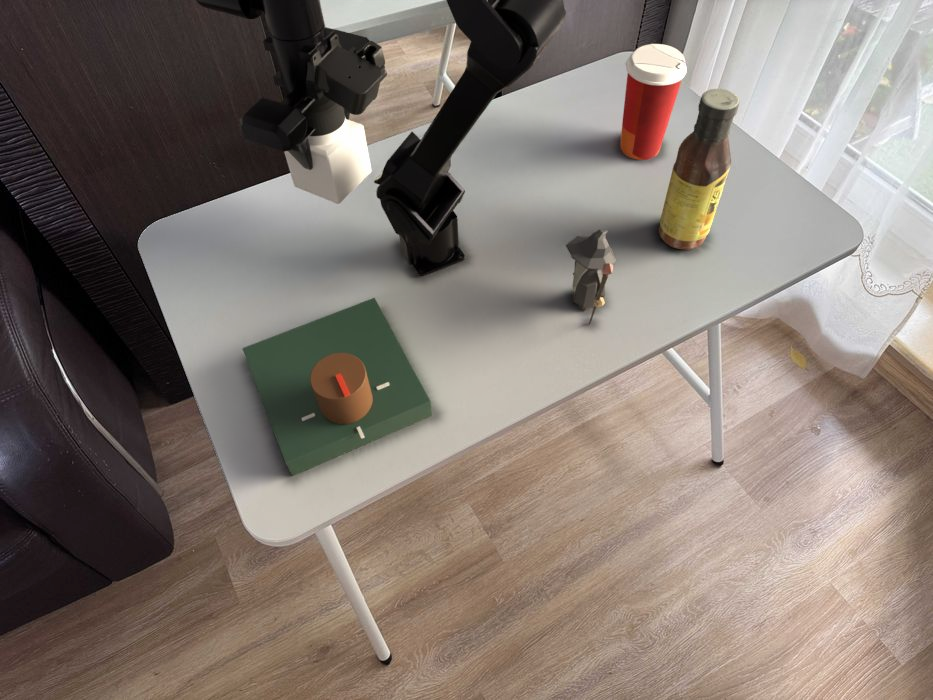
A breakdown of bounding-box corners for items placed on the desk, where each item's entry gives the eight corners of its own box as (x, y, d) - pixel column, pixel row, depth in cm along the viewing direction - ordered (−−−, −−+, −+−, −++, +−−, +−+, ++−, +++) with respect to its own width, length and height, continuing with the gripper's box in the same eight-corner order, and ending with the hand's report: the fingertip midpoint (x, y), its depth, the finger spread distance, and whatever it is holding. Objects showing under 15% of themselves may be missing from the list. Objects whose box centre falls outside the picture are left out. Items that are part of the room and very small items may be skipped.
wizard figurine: (551, 293, 87) (559, 222, 77) (589, 275, 89) (601, 203, 79) (591, 340, 83) (605, 270, 73) (630, 320, 84) (648, 249, 75)
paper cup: (675, 141, 103) (698, 51, 92) (653, 171, 99) (674, 82, 88) (625, 123, 106) (641, 35, 94) (602, 153, 102) (616, 64, 91)
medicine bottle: (373, 172, 90) (357, 87, 81) (339, 206, 87) (318, 121, 77) (328, 155, 93) (308, 70, 83) (293, 187, 89) (268, 103, 79)
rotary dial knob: (312, 391, 76) (301, 363, 72) (361, 371, 78) (353, 343, 73) (330, 432, 73) (320, 406, 69) (380, 411, 75) (373, 384, 70)
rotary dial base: (377, 313, 86) (374, 296, 84) (436, 421, 77) (434, 406, 75) (249, 363, 82) (241, 347, 80) (294, 483, 73) (287, 469, 71)
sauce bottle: (706, 255, 90) (752, 122, 74) (655, 249, 91) (690, 116, 75) (706, 219, 94) (751, 85, 78) (658, 213, 95) (692, 80, 78)
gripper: (311, 95, 66) (341, 218, 79) (409, -2, 76) (421, 122, 88) (216, 67, 69) (259, 190, 82) (321, -23, 79) (345, 100, 91)
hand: (326, 149), depth 86 cm, fingers closed on medicine bottle, 7 cm apart
